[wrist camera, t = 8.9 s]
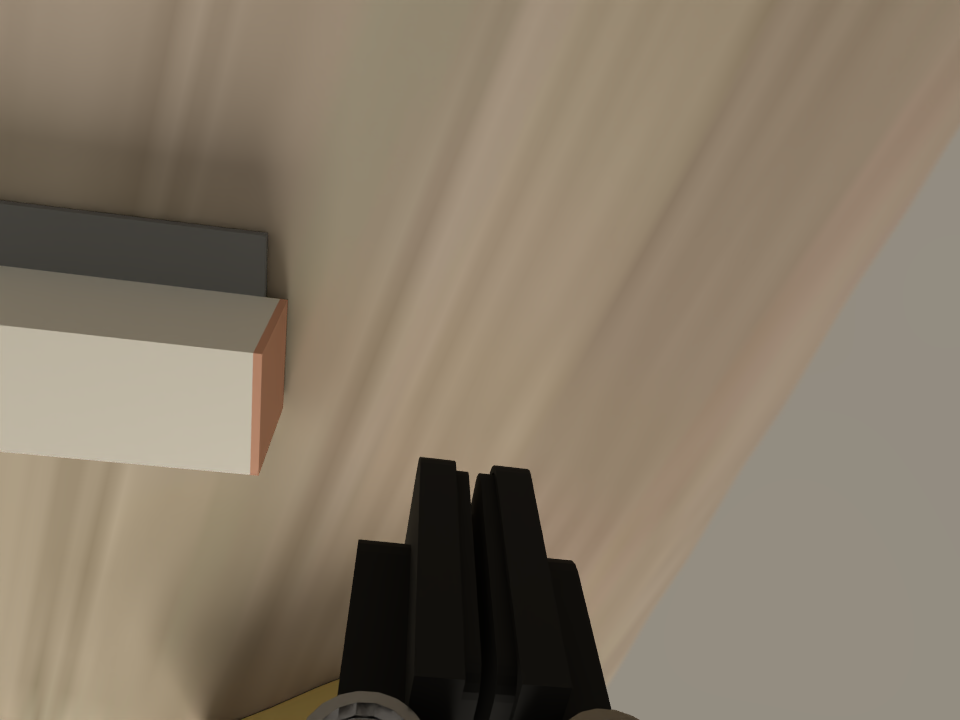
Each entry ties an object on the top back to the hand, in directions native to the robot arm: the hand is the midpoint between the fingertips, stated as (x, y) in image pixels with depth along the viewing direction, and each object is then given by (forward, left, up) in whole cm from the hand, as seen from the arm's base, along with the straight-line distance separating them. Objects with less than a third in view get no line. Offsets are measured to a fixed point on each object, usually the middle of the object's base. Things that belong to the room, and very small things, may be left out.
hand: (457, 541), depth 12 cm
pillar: (+7, -6, -17) cm, 19 cm away
